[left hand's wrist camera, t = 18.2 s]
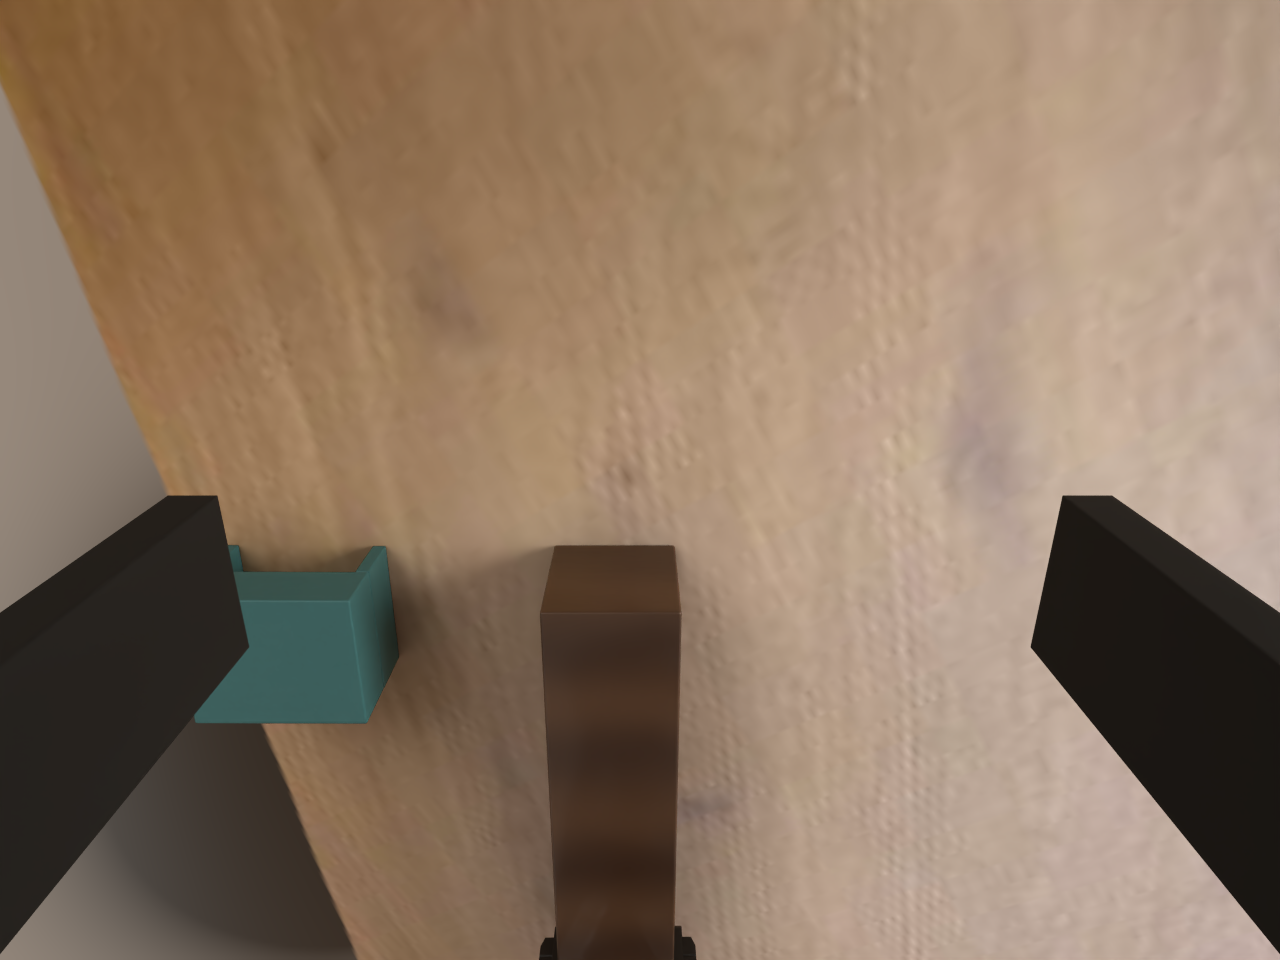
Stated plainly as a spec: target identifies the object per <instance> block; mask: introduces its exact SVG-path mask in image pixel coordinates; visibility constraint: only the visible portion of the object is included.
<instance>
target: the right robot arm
mask: <svg viewBox="0 0 1280 960" xmlns="http://www.w3.org/2000/svg"><path fill="white" fill-rule="evenodd" d="M539 960H558V954H557V934H556V927H555V933H554V938H545V940H544V941H543V943H542V945H541V948H540V957H539ZM674 960H696V950H695V944H694V942H693V940H692V938H691V937H682V929H681V926H674Z"/></svg>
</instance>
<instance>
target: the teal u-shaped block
mask: <svg viewBox="0 0 1280 960" xmlns="http://www.w3.org/2000/svg"><path fill="white" fill-rule="evenodd" d="M228 548H229V553H230V558H231V563H232V567H233V572H234V577H235V582H236V586H237V591H238V596H239V600H240V605H241V610H242V615H243V619H244V624H245V629H246V633H247V638H248V643H249V648H248V649H247V651H246V652H245V653H244V654H243V656H242V657H241V658H240V659H239V660H238V662H237V663H236V664H235V665H234V667H233V668H232V669H231V670H230V672H229V673H228V674H227V675H226V676H225V678H224V679H223V680H222V681H221V683H220V684H219V685H218V686H217V688H216V689H215V690H214V691H213V693H212V694H211V695H210V696H209V697H208V699H207V700H206V701H205V702H204V704H203V705H202V706H201V707H200V709H199V710H198V711H197V712H196V713H195V715H194V718H195V722H196V723H353V724H365V723H367V722H368V720H369V718H370V715H371V713H372V711H373V709H374V707H375V705H376V703H377V701H378V699H379V697H380V695H381V693H382V691H383V688H384V687H385V685H386V683H387V681H388V679H389V677H390V675H391V672H392V670H393V668H394V666H395V664H396V662H397V660H398V658H399V653H398V645H397V636H396V628H395V620H394V612H393V603H392V595H391V587H390V578H389V570H388V562H387V554H386V547H385V546H373V547H372V549H371V550H370V552H369V553H368V554H367V556H366V557H365V559H364V560H363V562H362V563H361V565H360V566H359V567H358V569H357V570H356V572H243V567H242V562H241V557H240V552H239V546H238V545H228Z"/></svg>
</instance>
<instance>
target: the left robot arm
mask: <svg viewBox="0 0 1280 960" xmlns="http://www.w3.org/2000/svg"><path fill="white" fill-rule="evenodd" d="M248 648H249V643H248V638H247V633H246V629H245V624H244V619H243V615H242V610H241V605H240V600H239V596H238V591H237V586H236V582H235V577H234V572H233V567H232V563H231V558H230V553H229V548H228V544H227V539H226V534H225V530H224V525H223V520H222V515H221V511H220V506H219V501H218V497H217V496H167V497H165V498H164V499H162V500H161V501H160V502H158V503H157V504H155V505H154V506H152V507H151V508H150V509H148V510H147V511H145V512H144V513H142V514H141V515H140V516H138V517H137V518H135V519H134V520H132V521H131V522H130V523H128V524H127V525H125V526H124V527H122V528H121V529H119V530H118V531H117V532H115V533H114V534H112V535H111V536H109V537H108V538H107V539H105V540H104V541H102V542H101V543H100V544H98V545H97V546H95V547H94V548H92V549H91V550H89V551H88V552H87V553H85V554H84V555H82V556H81V557H79V558H78V559H77V560H75V561H74V562H72V563H71V564H69V565H68V566H67V567H65V568H64V569H62V570H61V571H59V572H58V573H57V574H55V575H54V576H52V577H51V578H49V579H48V580H46V581H45V582H44V583H42V584H41V585H39V586H38V587H36V588H35V589H34V590H32V591H31V592H29V593H28V594H26V595H25V596H24V597H22V598H21V599H19V600H18V601H16V602H15V603H13V604H12V605H11V606H9V607H8V608H6V609H5V610H3V611H2V612H1V613H0V953H1V952H2V951H3V950H4V949H5V947H6V946H7V945H8V944H9V942H10V941H11V940H12V939H13V937H14V936H15V935H16V934H17V933H18V931H19V930H20V929H21V928H22V926H23V925H24V924H25V923H26V922H27V920H28V919H29V918H30V917H31V915H32V914H33V913H34V912H35V910H36V909H37V908H38V907H39V905H40V904H41V903H42V902H43V901H44V899H45V898H46V897H47V896H48V894H49V893H50V892H51V891H52V890H53V888H54V887H55V886H56V885H57V883H58V882H59V881H60V880H61V878H62V877H63V876H64V875H65V874H66V872H67V871H68V870H69V869H70V867H71V866H72V865H73V864H74V862H75V861H76V860H77V859H78V857H79V856H80V855H81V854H82V853H83V851H84V850H85V849H86V848H87V846H88V845H89V844H90V843H91V841H92V840H93V839H94V838H95V837H96V835H97V834H98V833H99V832H100V830H101V829H102V828H103V827H104V825H105V824H106V823H107V822H108V821H109V819H110V818H111V817H112V816H113V814H114V813H115V812H116V811H117V809H118V808H119V807H120V806H121V805H122V803H123V802H124V801H125V800H126V798H127V797H128V796H129V795H130V793H131V792H132V791H133V790H134V789H135V787H136V786H137V785H138V784H139V782H140V781H141V780H142V779H143V777H144V776H145V775H146V774H147V773H148V771H149V770H150V769H151V768H152V766H153V765H154V764H155V763H156V761H157V760H158V759H159V758H160V756H161V755H162V754H163V753H164V752H165V750H166V749H167V748H168V747H169V745H170V744H171V743H172V742H173V741H174V739H175V738H176V737H177V736H178V734H179V733H180V732H181V731H182V729H183V728H184V727H185V726H186V725H187V723H188V722H189V721H190V720H191V718H192V717H193V716H194V715H195V713H196V712H197V711H198V710H199V709H200V707H201V706H202V705H203V704H204V702H205V701H206V700H207V699H208V697H209V696H210V695H211V694H212V693H213V691H214V690H215V689H216V688H217V686H218V685H219V684H220V683H221V681H222V680H223V679H224V678H225V676H226V675H227V674H228V673H229V672H230V670H231V669H232V668H233V667H234V665H235V664H236V663H237V662H238V660H239V659H240V658H241V657H242V656H243V654H244V653H245V652H246V651H247V649H248ZM1031 648H1032V649H1033V651H1034V652H1035V653H1036V654H1037V656H1038V657H1039V658H1040V659H1041V660H1042V662H1043V663H1044V664H1045V665H1046V667H1047V668H1048V669H1049V670H1050V672H1051V673H1052V674H1053V675H1054V676H1055V678H1056V679H1057V680H1058V681H1059V683H1060V684H1061V685H1062V686H1063V688H1064V689H1065V690H1066V691H1067V693H1068V694H1069V695H1070V696H1071V697H1072V699H1073V700H1074V701H1075V702H1076V704H1077V705H1078V706H1079V707H1080V709H1081V710H1082V711H1083V712H1084V713H1085V715H1086V716H1087V717H1088V718H1089V720H1090V721H1091V722H1092V723H1093V725H1094V726H1095V727H1096V728H1097V729H1098V731H1099V732H1100V733H1101V734H1102V736H1103V737H1104V738H1105V739H1106V741H1107V742H1108V743H1109V744H1110V745H1111V747H1112V748H1113V749H1114V750H1115V752H1116V753H1117V754H1118V755H1119V757H1120V758H1121V759H1122V760H1123V761H1124V763H1125V764H1126V765H1127V766H1128V768H1129V769H1130V770H1131V771H1132V773H1133V774H1134V775H1135V776H1136V777H1137V779H1138V780H1139V781H1140V782H1141V784H1142V785H1143V786H1144V787H1145V789H1146V790H1147V791H1148V792H1149V793H1150V795H1151V796H1152V797H1153V798H1154V800H1155V801H1156V802H1157V803H1158V805H1159V806H1160V807H1161V808H1162V809H1163V811H1164V812H1165V813H1166V814H1167V816H1168V817H1169V818H1170V819H1171V821H1172V822H1173V823H1174V824H1175V825H1176V827H1177V828H1178V829H1179V830H1180V832H1181V833H1182V834H1183V835H1184V837H1185V838H1186V839H1187V840H1188V841H1189V843H1190V844H1191V845H1192V846H1193V848H1194V849H1195V850H1196V851H1197V853H1198V854H1199V855H1200V856H1201V858H1202V859H1203V860H1204V861H1205V862H1206V864H1207V865H1208V866H1209V867H1210V869H1211V870H1212V871H1213V872H1214V874H1215V875H1216V876H1217V877H1218V878H1219V880H1220V881H1221V882H1222V883H1223V885H1224V886H1225V887H1226V888H1227V890H1228V891H1229V892H1230V893H1231V894H1232V896H1233V897H1234V898H1235V899H1236V901H1237V902H1238V903H1239V904H1240V906H1241V907H1242V908H1243V909H1244V910H1245V912H1246V913H1247V914H1248V915H1249V917H1250V918H1251V919H1252V920H1253V922H1254V923H1255V924H1256V925H1257V926H1258V928H1259V929H1260V930H1261V931H1262V933H1263V934H1264V935H1265V936H1266V938H1267V939H1268V940H1269V941H1270V942H1271V944H1272V945H1273V946H1274V947H1275V949H1276V950H1277V951H1278V952H1279V954H1280V613H1279V612H1278V611H1277V610H1275V609H1274V608H1272V607H1271V606H1269V605H1268V604H1267V603H1265V602H1264V601H1262V600H1261V599H1259V598H1258V597H1256V596H1255V595H1254V594H1252V593H1251V592H1249V591H1248V590H1246V589H1245V588H1244V587H1242V586H1241V585H1239V584H1238V583H1236V582H1235V581H1234V580H1232V579H1231V578H1229V577H1228V576H1226V575H1225V574H1224V573H1222V572H1221V571H1219V570H1218V569H1216V568H1215V567H1214V566H1212V565H1211V564H1209V563H1208V562H1206V561H1205V560H1203V559H1202V558H1201V557H1199V556H1198V555H1196V554H1195V553H1193V552H1192V551H1191V550H1189V549H1188V548H1186V547H1185V546H1183V545H1182V544H1181V543H1179V542H1178V541H1176V540H1175V539H1173V538H1172V537H1171V536H1169V535H1168V534H1166V533H1165V532H1163V531H1162V530H1161V529H1159V528H1158V527H1156V526H1155V525H1153V524H1152V523H1150V522H1149V521H1148V520H1146V519H1145V518H1143V517H1142V516H1140V515H1139V514H1138V513H1136V512H1135V511H1133V510H1132V509H1130V508H1129V507H1128V506H1126V505H1125V504H1123V503H1122V502H1120V501H1119V500H1118V499H1116V498H1115V497H1113V496H1063V497H1062V501H1061V506H1060V511H1059V515H1058V520H1057V525H1056V530H1055V534H1054V539H1053V544H1052V548H1051V553H1050V558H1049V563H1048V567H1047V572H1046V577H1045V582H1044V586H1043V591H1042V596H1041V600H1040V605H1039V610H1038V615H1037V619H1036V624H1035V629H1034V633H1033V638H1032V643H1031Z"/></svg>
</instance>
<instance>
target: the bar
mask: <svg viewBox="0 0 1280 960" xmlns="http://www.w3.org/2000/svg"><path fill="white" fill-rule="evenodd" d="M540 624H541V643H542V663H543V682H544V702H545V721H546V740H547V760H548V779H549V799H550V818H551V837H552V857H553V876H554V896H555V915H556V934H557V954H558V960H674V923H675V879H676V834H677V789H678V745H679V700H680V656H681V604H680V594H679V585H678V575H677V565H676V555H675V547H674V546H555V547H554V552H553V556H552V561H551V565H550V570H549V575H548V579H547V584H546V588H545V593H544V598H543V602H542V607H541V611H540Z"/></svg>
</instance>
